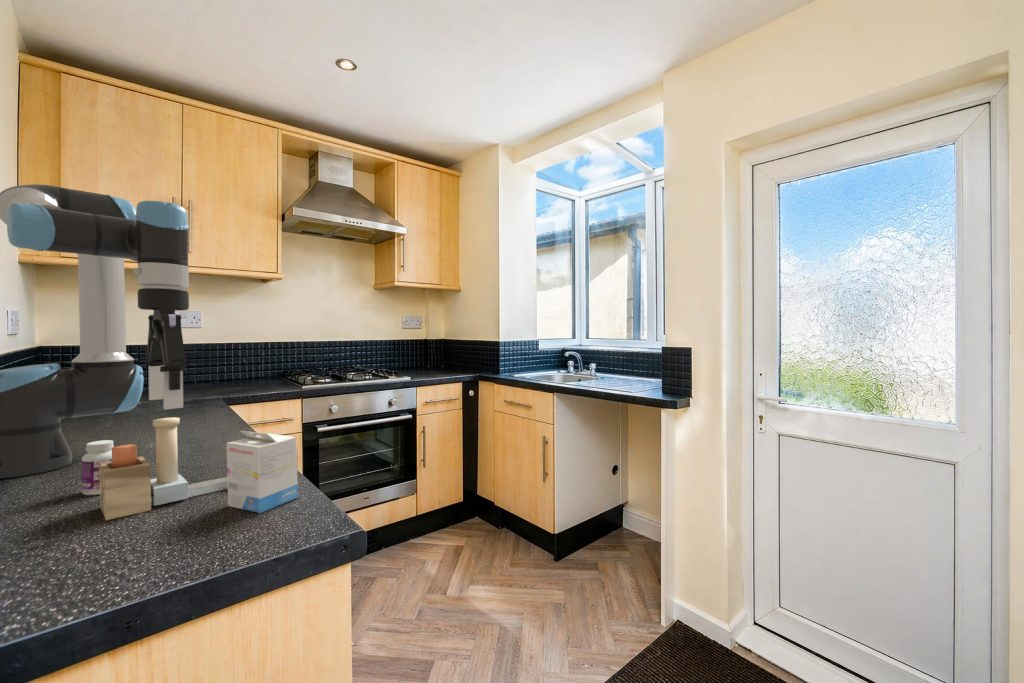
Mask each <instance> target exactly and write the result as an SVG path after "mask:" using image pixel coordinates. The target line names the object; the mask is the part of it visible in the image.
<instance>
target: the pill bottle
mask: <svg viewBox="0 0 1024 683" xmlns="http://www.w3.org/2000/svg"><path fill="white" fill-rule="evenodd" d="M113 447H115V445H114V440H109V439H108V440H107V439H105V440H104V439H103V440H95V441H91V442H87V443H86V446H85V450H86V452H87V453H85V454H84V455H83V456H82V457H81V493H82V495H85V496H97V495H100V467H99V463H102V462H108V461H112V448H113Z"/></svg>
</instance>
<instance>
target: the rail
mask: <svg viewBox="0 0 1024 683" xmlns="http://www.w3.org/2000/svg"><path fill="white" fill-rule="evenodd" d="M225 490H228V481H227V476H225V477H224V476H223V477H220V478H214V479H209V480H204V481H200V482H193V483H191V484H189V483H188V490H187V494H188V499H189V498H194V497H198V496H201V495H206V494H211V493H215V492H221V491H225ZM152 506H154V505H153V495H152V493H151V507H152Z"/></svg>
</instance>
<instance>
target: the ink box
mask: <svg viewBox="0 0 1024 683" xmlns="http://www.w3.org/2000/svg"><path fill="white" fill-rule="evenodd" d="M240 433H241V434H243V435H244V436H245V437H246V438H241V439H239V440H234V441H229V442H225V443H226V468H227V469H226V473H227V474H226V477H227V481H228V489H227V506H228V507H231V508H233V509H234V508H235V509H240V510H244V511H247V512H253V513H257V514H261V513H264V512H266V511H270V510H271V509H275V508H277V507H279V506H281V505H284V504H286V503H289V502H290V501H294V500H295V499H298V498H299V490H298V488H299V486H298V464H297V463H298V459H297V458H298V457H297V456H298V455H297V437H296V436H289V435H282V434H276V433H268V432H267V433H264V432H254V431H249V430H240Z"/></svg>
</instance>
